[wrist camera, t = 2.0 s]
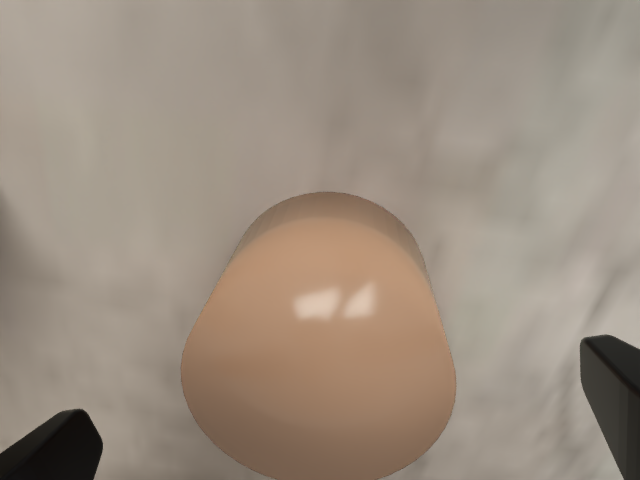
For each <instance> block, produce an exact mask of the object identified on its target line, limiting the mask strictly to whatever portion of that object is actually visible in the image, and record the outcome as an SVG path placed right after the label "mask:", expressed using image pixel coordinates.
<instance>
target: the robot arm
mask: <svg viewBox="0 0 640 480" xmlns="http://www.w3.org/2000/svg"><path fill="white" fill-rule="evenodd" d="M580 372H581V383H582V387H583V390H584V393H585V395H586V397H587V399H588V402H589V404H590V406H591V408H592V411H593V413H594V415H595V417H596V419H597V422H598V424H599V426H600V428H601V430H602V433H603V435H604V437H605V439H606V441H607V444H608V446H609V448H610V450H611V452H612V455H613V457H614V459H615V461H616V464H617V466H618V468H619V470H620V472H621V474H622V476H623V478H624V480H640V349H638V348H636V347H634V346H632V345H630V344H628V343H626V342H624V341H622V340H620V339H618V338H616V337H614V336H611V335H599V336H592V337H585V338H583V339H582V340H581V343H580ZM102 450H103V442H102V439H101V436H100V435H99V433H98V431H97V429H96V428H95V426H94V424H93V422H92V420H91V419H90V417H89V415H88V414H87V412H86V411H84V410H83V409H73V410H66V411H62V412H59V413H58V414H56V415H55V416H53V417H52V418H50V419H49V420H48V421H46V422H45V423H43V424H42V425H40V426H39V427H38V428H36V429H35V430H33V431H32V432H30V433H29V434H28V435H26V436H25V437H23V438H22V439H20V440H19V441H17V442H16V443H15V444H13V445H12V446H10V447H9V448H7V449H6V450H5V451H3V452H2V453H0V480H94V477H95V474H96V470H97V467H98V464H99V461H100V458H101V455H102Z"/></svg>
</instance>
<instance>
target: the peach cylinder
mask: <svg viewBox="0 0 640 480" xmlns="http://www.w3.org/2000/svg"><path fill="white" fill-rule="evenodd" d="M181 381H182V386H183V392H184V396H185V399H186V401H187V404H188V407H189V409H190V411H191V413H192V415H193V417H194V419H195V421H196V422H197V423H198V425H199V426H200V428H201V429H202V430H203V432H204V433H205V434H206V435H207V436H208V437H209V439H210V440H211V441H212V442H213V443H214V444H215V445H216V446H217V447H219V448H220V449H221V450H222V451H223V452H224V453H226V454H227V455H228V456H230V457H231V458H233V459H234V460H236V461H237V462H239V463H240V464H242V465H244V466H246V467H248V468H250V469H251V470H254V471H256V472H258V473H261V474H263V475H265V476H268V477H271V478H274V479H277V480H377V479H380V478H382V477H385V476H388V475H391V474H393V473H395V472H397V471H399V470H401V469H403V468H404V467H406V466H408V465H409V464H411V463H412V462H414V461H415V460H417V459H418V458H419V457H420V456H421V455H423V454H424V453H425V452H426V451H427V450H428V449H429V448H430V447H431V446H432V445H433V444H434V443H435V441H436V440H437V439H438V438H439V436H440V435H441V433H442V432H443V430H444V429H445V427H446V425H447V423H448V420H449V418H450V416H451V413H452V410H453V406H454V403H455V395H456V375H455V369H454V365H453V360H452V357H451V353H450V350H449V346H448V343H447V339H446V336H445V332H444V329H443V325H442V322H441V318H440V315H439V311H438V308H437V305H436V301H435V298H434V294H433V291H432V287H431V284H430V280H429V277H428V273H427V270H426V266H425V263H424V259H423V256H422V254H421V251H420V249H419V246H418V244H417V242H416V241H415V239H414V237H413V236H412V234H411V233H410V232H409V230H408V229H407V228H406V227H405V225H404V224H403V223H402V222H401V221H400V220H398V219H397V218H396V217H395V216H394V215H393V214H391V213H390V212H389V211H387V210H386V209H384V208H383V207H381V206H379V205H377V204H375V203H373V202H371V201H369V200H366V199H363V198H361V197H358V196H354V195H350V194H345V193H336V192H316V193H309V194H303V195H299V196H296V197H292V198H290V199H287V200H285V201H282V202H280V203H278V204H276V205H275V206H273V207H271V208H270V209H268V210H267V211H266V212H264V213H263V214H262V215H260V216H259V217H258V218H257V219H256V220H255V221H254V222H253V223H252V224H251V226H250V227H249V228H248V230H247V231H246V233H245V234H244V235H243V237H242V239H241V241H240V243H239V245H238V246H237V248H236V250H235V252H234V254H233V256H232V257H231V259H230V261H229V263H228V265H227V266H226V268H225V270H224V272H223V274H222V276H221V277H220V279H219V281H218V283H217V285H216V286H215V288H214V290H213V292H212V294H211V296H210V297H209V299H208V301H207V303H206V305H205V307H204V308H203V310H202V312H201V314H200V316H199V317H198V319H197V321H196V323H195V325H194V327H193V329H192V331H191V333H190V335H189V337H188V339H187V341H186V344H185V348H184V351H183V356H182V363H181Z"/></svg>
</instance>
